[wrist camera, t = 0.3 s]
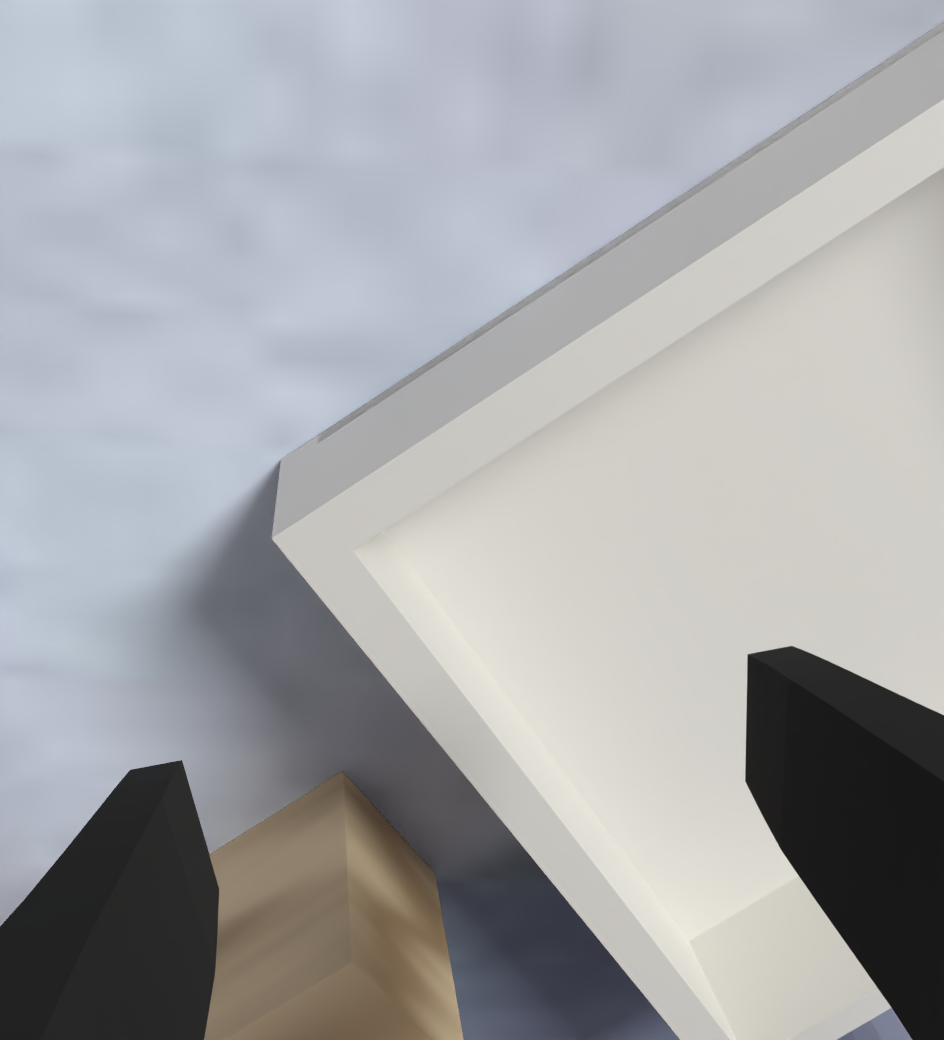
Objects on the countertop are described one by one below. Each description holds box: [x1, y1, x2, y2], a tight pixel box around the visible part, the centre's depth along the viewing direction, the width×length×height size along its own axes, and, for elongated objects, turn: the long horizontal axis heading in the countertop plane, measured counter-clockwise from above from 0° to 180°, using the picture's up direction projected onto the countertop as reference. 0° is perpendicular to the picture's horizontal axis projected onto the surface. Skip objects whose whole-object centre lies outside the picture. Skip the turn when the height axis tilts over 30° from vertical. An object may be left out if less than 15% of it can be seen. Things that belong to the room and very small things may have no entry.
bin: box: [272, 22, 944, 1040], centre depth 20 cm, size 20×20×4 cm
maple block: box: [204, 771, 463, 1040], centre depth 21 cm, size 4×4×6 cm
